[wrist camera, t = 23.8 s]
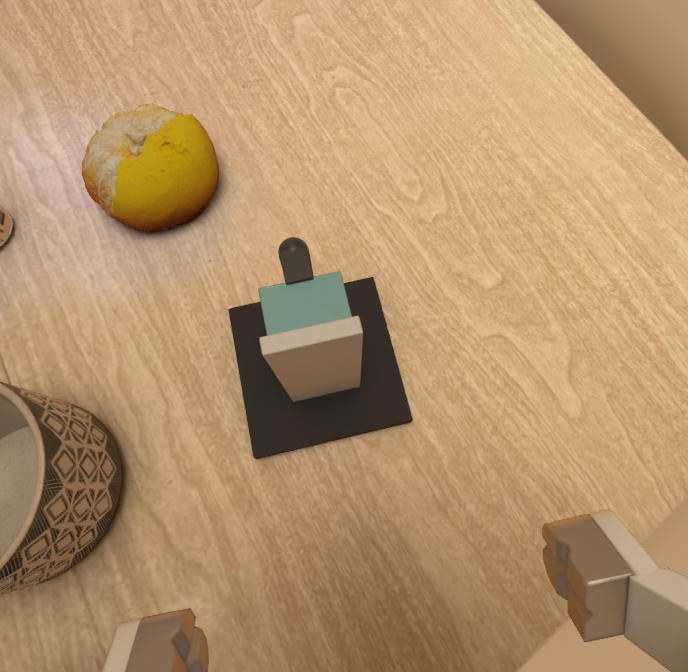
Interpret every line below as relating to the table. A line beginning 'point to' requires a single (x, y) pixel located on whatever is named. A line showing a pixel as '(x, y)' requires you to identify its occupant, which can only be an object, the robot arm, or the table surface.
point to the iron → (310, 328)
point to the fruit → (151, 168)
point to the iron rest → (327, 410)
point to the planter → (51, 486)
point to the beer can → (5, 225)
